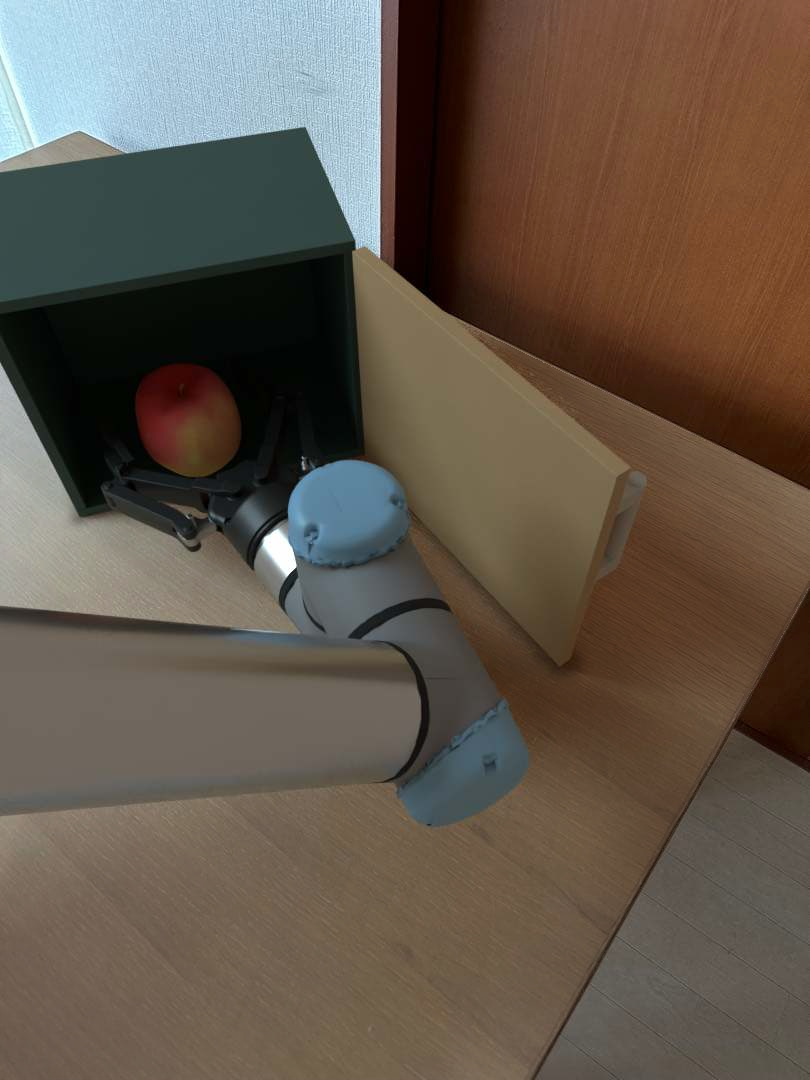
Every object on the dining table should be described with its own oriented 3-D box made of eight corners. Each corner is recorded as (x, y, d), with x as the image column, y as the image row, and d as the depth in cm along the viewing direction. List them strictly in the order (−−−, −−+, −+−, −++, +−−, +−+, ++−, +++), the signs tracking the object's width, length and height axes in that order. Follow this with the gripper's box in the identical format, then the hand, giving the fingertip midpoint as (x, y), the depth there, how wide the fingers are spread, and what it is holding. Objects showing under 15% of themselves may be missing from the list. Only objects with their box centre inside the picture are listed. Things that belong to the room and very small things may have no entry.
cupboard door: (422, 431, 84) (425, 219, 65) (620, 623, 71) (698, 425, 52) (365, 462, 82) (351, 251, 63) (559, 667, 68) (617, 476, 49)
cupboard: (368, 454, 82) (355, 240, 63) (79, 517, 78) (-29, 306, 59) (327, 340, 93) (305, 126, 74) (70, 390, 88) (-25, 175, 69)
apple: (137, 492, 78) (106, 416, 70) (169, 420, 84) (143, 342, 76) (236, 503, 77) (216, 427, 69) (261, 430, 83) (245, 352, 75)
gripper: (162, 647, 66) (58, 483, 76) (413, 502, 75) (290, 373, 85) (137, 595, 60) (28, 425, 70) (414, 445, 69) (280, 313, 79)
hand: (171, 396), depth 78 cm, fingers open, 13 cm apart
